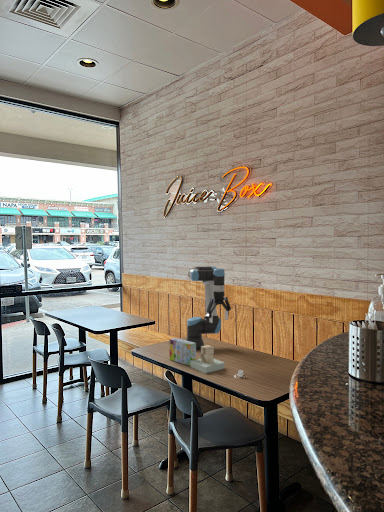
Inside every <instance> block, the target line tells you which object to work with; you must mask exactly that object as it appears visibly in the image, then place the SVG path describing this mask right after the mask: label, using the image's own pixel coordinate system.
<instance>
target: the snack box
mask: <svg viewBox="0 0 384 512" xmlns="http://www.w3.org/2000/svg"><path fill="white" fill-rule="evenodd" d="M169 360H170V361H172V362H176V363H180V364H182V365H186V366H190V367H191V361H192V360H197V350H196V343H194V342H190V341H186V340H185V339H181V338H177V337H172V338H169Z"/></svg>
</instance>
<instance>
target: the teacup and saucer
mask: <svg viewBox="0 0 384 512" xmlns="http://www.w3.org/2000/svg"><path fill="white" fill-rule="evenodd" d="M236 375H237V376H238V378H244V376H243V375H245V374H244V370H242V369H239V370H238V369H237V374H234V376H233V377H234V378H235V379H237V378H236V377H237V376H236Z"/></svg>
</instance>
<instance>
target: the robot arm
mask: <svg viewBox="0 0 384 512" xmlns="http://www.w3.org/2000/svg"><path fill="white" fill-rule="evenodd" d="M225 275H226V273H225V269H224V268H217V267H216V266H211V265H210V266H195V267H192V268H190V269H189V270H188V273H187V277H188V278H189V279H190V280H191V281H192V282H202V284H203V286H204V301H205V302H204V304H205V315H204V316H203V317H202V316H192V317H189V318H187V320H186V338H185V339H186V341H190V342H194V343H196V351H198V350H201V346H205V343H204V340H203V335H211V334H213V335H214V334H219V333H220V332H221V327H222V318H219V317H220V316H219V314H217V306H218V305H221V306H222V307H223V308H224V320H226V321H228V320H229V315H230V313H229V312H230V311H231V310H232V307H231V304H230V302H229V299H228V296H225Z"/></svg>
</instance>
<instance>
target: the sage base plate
mask: <svg viewBox="0 0 384 512" xmlns="http://www.w3.org/2000/svg"><path fill="white" fill-rule="evenodd" d="M190 368H192V369H195V370H196V371H199V372H200V373H203V374H208V373H212V372H217V371H219V370H223V369H225V362H224V361H221V360H219V359H216V358H214V362H212V363H208V364H206V363H204V362H201V358H198V359H197V358H196V360H192V361H191V366H190Z"/></svg>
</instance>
